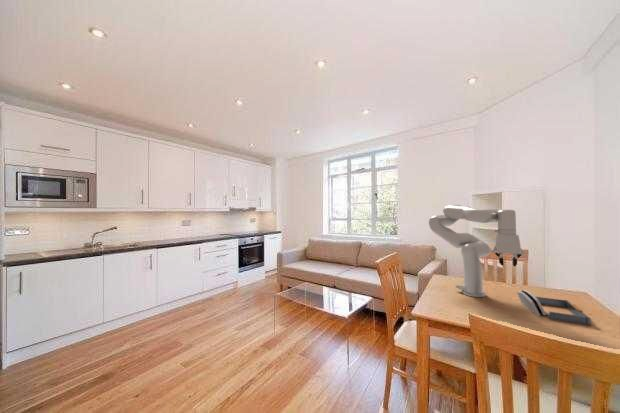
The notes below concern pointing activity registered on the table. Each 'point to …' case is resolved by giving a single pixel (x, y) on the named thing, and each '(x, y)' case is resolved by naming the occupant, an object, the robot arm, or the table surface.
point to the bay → (576, 318)
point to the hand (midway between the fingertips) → (508, 265)
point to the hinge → (531, 302)
